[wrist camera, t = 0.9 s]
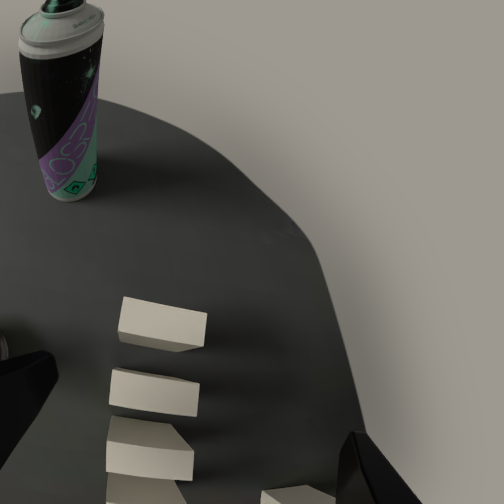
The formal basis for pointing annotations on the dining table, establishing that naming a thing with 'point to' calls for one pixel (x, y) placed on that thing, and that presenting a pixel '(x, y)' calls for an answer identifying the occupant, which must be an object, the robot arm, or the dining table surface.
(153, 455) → the domino
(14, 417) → the robot arm
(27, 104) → the spray can
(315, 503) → the domino
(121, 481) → the domino
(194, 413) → the domino
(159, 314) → the domino
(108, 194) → the dining table surface
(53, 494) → the dining table surface
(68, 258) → the dining table surface
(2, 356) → the chess piece
